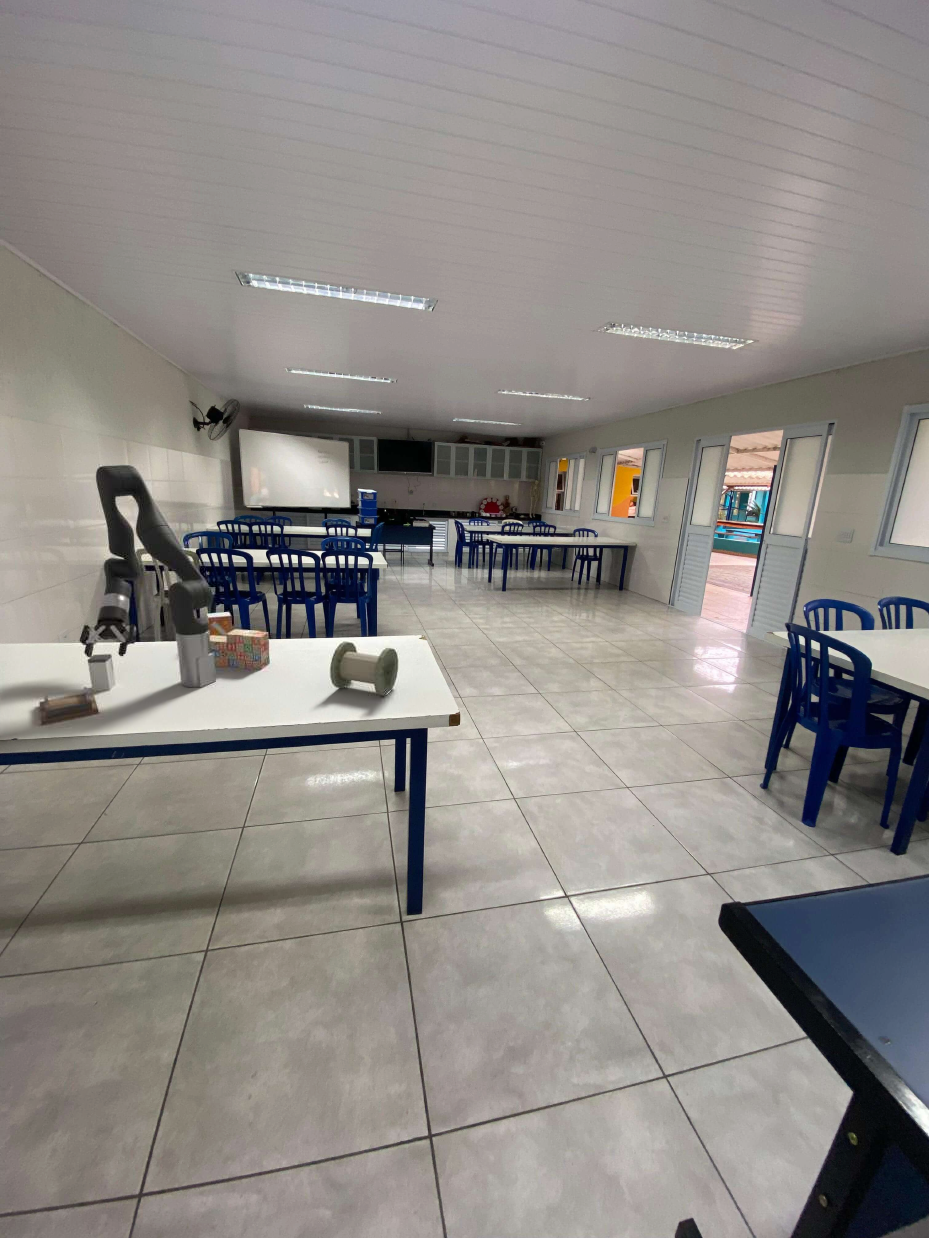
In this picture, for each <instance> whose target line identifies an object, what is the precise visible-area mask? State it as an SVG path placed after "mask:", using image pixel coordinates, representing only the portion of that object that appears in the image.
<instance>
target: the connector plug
mask: <svg viewBox="0 0 929 1238" xmlns="http://www.w3.org/2000/svg"><path fill="white" fill-rule="evenodd" d="M87 664H88V665H87V666H88V671H89V677H90V684H91V688H92V689H91V690H92V691H91V692H95V691H96V692H97V691H98V692H99V691H110V690H112V688H114V687H115V686H116V678H115V672H114V671H115V670H114V665H113V664H114V663H113V655H112V654H111V653H105V654H92V657H88V659H87Z"/></svg>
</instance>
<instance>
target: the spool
mask: <svg viewBox="0 0 929 1238" xmlns="http://www.w3.org/2000/svg"><path fill="white" fill-rule="evenodd" d="M329 671H330V672H329V673H330V674H329V675H330V676H329V678H330V680H331V684H332V685H333V686H334V687H335V688H337V689H345V688H346V687H348V686H349V685H350V684H351V683H352V681H353V682H359V683H365V684H371V685H373V686H374V689H375V692H376V693H377V695H378V696H384V697H385V695H386V694H387V693H388V692H389V691H390V690H391V689H392V690H393V688H394V687H395V683H396V680H397V677H398V671H399V656H398V652H397V651H396V650H395V648H391V647H385V648H384V649H383V650H382V651H381V653H380V654H379V655H374V654H367V653H361V652H358V651H357V647H356V646H355V644H354V643H353V642H350V641H349V642H348V641H343V642H341V643H339V644H338V646H337V647H336V648H335V650H334V653H333V655H332V658H331V662H330V667H329ZM349 683H350V684H349ZM348 684H349V685H348ZM347 685H348V686H347ZM345 686H346V687H345ZM344 687H345V688H344ZM392 690H391V691H392ZM387 695H388V694H387ZM387 695H386V696H387Z"/></svg>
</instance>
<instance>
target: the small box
mask: <svg viewBox="0 0 929 1238" xmlns="http://www.w3.org/2000/svg"><path fill="white" fill-rule="evenodd" d="M205 615H206V621H208V623H209V633H210V636H211V635H215V636H226V634H227V633H230V632H231V631H233V624H232V615H231V613H230V611H225V612H224V611H223V612H212V613H206V614H205Z"/></svg>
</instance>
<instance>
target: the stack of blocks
mask: <svg viewBox="0 0 929 1238" xmlns="http://www.w3.org/2000/svg"><path fill="white" fill-rule="evenodd" d="M210 644H211V653H213V654H214V661H215V667H216V666H217V667H229V668H242V669H249V670H251V669H252V670H263V669H264V668H266V667H267V666H268V665H270V660H271V659H270V640H269V632H268V631H260V630H253V629H252V630H249V629H237V628H236V629H232V631H231V632H230V633H227V634H226V636H215V635H211V636H210Z"/></svg>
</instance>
